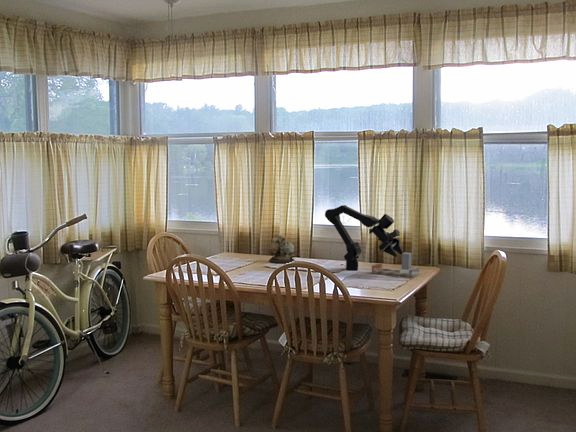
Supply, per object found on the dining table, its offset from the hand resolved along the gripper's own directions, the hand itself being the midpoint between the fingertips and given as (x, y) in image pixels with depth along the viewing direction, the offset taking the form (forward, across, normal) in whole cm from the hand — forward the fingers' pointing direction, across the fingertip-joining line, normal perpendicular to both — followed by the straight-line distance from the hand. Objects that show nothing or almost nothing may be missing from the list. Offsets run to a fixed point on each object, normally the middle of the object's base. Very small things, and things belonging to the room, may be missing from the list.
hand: (399, 255), depth 328 cm
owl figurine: (-47, -1, +62) cm, 78 cm away
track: (+6, 0, +10) cm, 11 cm away
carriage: (+10, 0, +4) cm, 10 cm away
